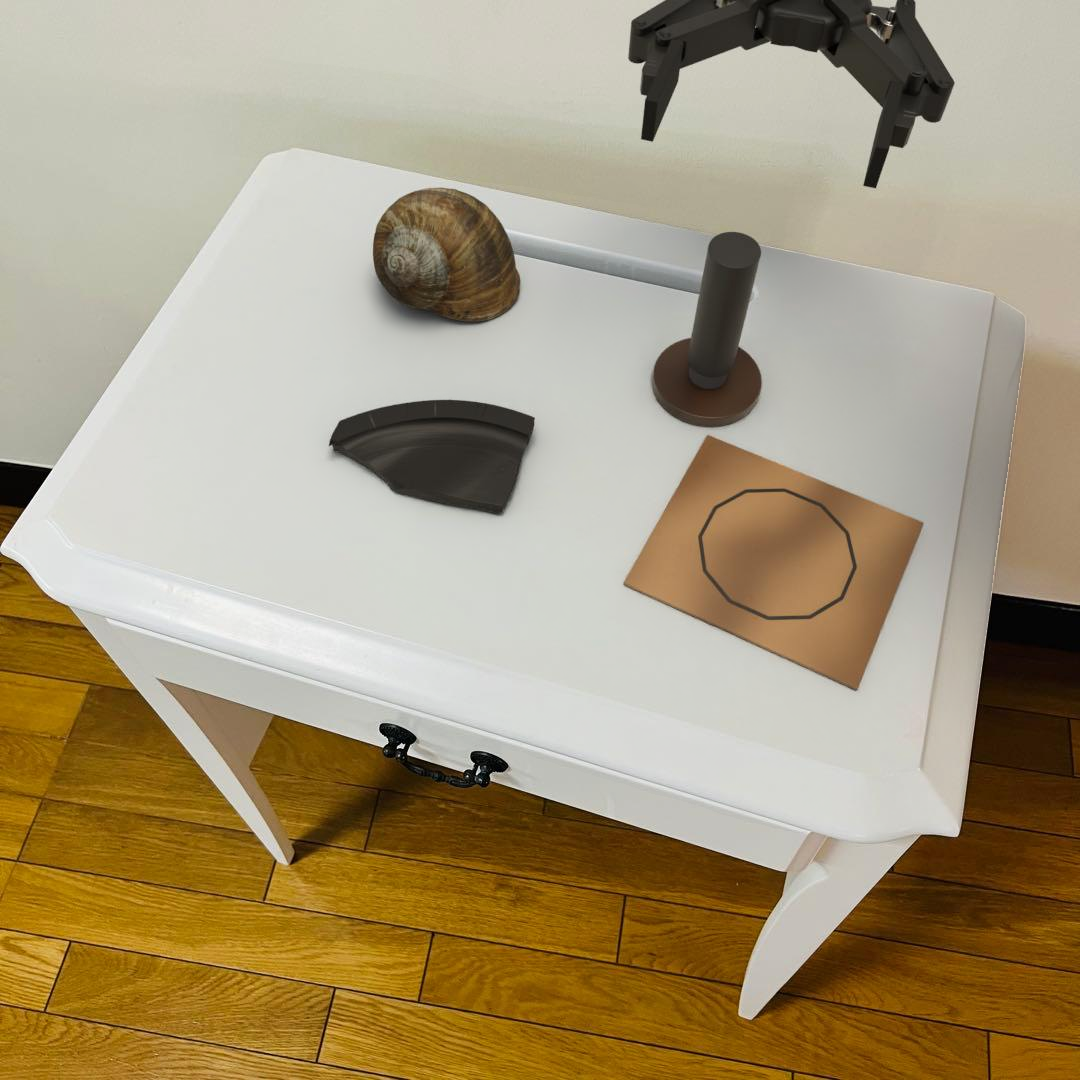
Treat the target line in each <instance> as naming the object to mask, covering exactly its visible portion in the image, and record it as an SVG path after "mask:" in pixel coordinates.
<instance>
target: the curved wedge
mask: <svg viewBox="0 0 1080 1080" xmlns="http://www.w3.org/2000/svg"><path fill="white" fill-rule="evenodd" d="M535 421H536V417H534V416H532V415H530V414H527V413H523V412H521V411H519V410H514V409H512V408H508V407H504V406H502V405H501V406H500V405H497V404H491V403H486V402H480V401H473V400H463V399H429V400H417V401H410V402H402V403H396V404H391V405H386V406H381V407H378V408H374V409H369V410H367V411H363V412H360V413H357V414H354V415H352V416H348V417H346V418H344V419H340V420H339V421H338V423H337V425H336V427H335V428H334V431H332V433H331V436H330V439H329V442H328V446H329V447H331V446H332V450H333V451H334V452H337V453H339V454H341V455H343V456H346V457H347V458H350V459H352V460H354V461H355V462H357V463H358V464H360V465H362V466H364V467H366V468H367V469H368V470H370V471H371V472H373V473H374V474H375V475H376V476H377V477H378V478H380V479H381V480H382V481H384V482H385V484H387V485H388V487H389V488H390V490H392V491H393V492H394V493H397V494H401V495H405V496H409V497H413V498H416V499H417V498H418V499H421V500H426V501H431V502H436V503H440V504H446V505H450V506H451V505H452V506H456V507H463V508H469V509H475V510H481V511H485V512H490V513H493V514H503V512H504V511H505V508H506V505H507V503H508V502H509V501H510V499H511V496H512V494H513V492H514V489H515V487H516V485H517V482H518V479H519V474H520V471H521V470H520V469H521V465H522V460H523V457H524V452H525V449H526V447H527V446H528V444H529V443H530V439H531V437H532V434H533V431H535V430H534V429H535Z"/></svg>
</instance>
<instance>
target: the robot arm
mask: <svg viewBox="0 0 1080 1080" xmlns="http://www.w3.org/2000/svg"><path fill="white" fill-rule="evenodd" d="M916 5H917V3H916V0H896V2H895V5H894V6H889V7H887V6H878V5H873V2H872V0H663V1H662V2H660V3H658V4H656V5H655V6H652V7H651V8H650V9H648V10H646V11H645V12H643V13H641V14H640V15H638V16H636V17H634V18H633V19H632V20H631V22H630V33H629V43H628V44H629V45H628V56H627V59H628V62H630V63H632V64H636V65H638V64H643V63H644V64H643V66H642V68H641V76H640V86H639V92H640V95H641V96H645V99H644V104H643V105H644V106H643V116H642V125H641V134H640V135H641V136H640V140H641V141H642V140H643V141H648V142H652V143H654V140H655V137H656V135H657V133H658V130H659V128H660V127H661V123H662V121H663V119H664V116H665V114H666V112H667V109H668V107H669V105H670V102H671V99H672V97H673V95H674V92H675V90H676V87H677V86H678V83H679V77H680V71H681V69H684V68H687V67H690V66H693V65H694V64H698V63H700V62H702V61H705V60H708V59H710V58H714V57H716V56H718V55H722V54H724V53H728V52H729V51H732V50H734V49H738V48H742V49H743V50H745V51H749V50H752V49H755V48H757V47H759V46H762V45H764V44H767V43H770V45H774V46H780V47H795V48H798V49H800V50H803V51H804V52H805V51H806V52H811V53H816V54H817V53H818V51H819V52H820V53H821V54H822V55H823V56H824V57H825V58H826V59H827V60H828V61H829V62H830V63H831V64H832V65H833V67H834V68H836V69H839V68H844V69H845V70H846V71H847V72H848V73H849V74H850V76H852V77H853V78H854V79H855V81H856V82H858V84H859V85H860V86H861V87H862V88H863V89H864V90H865V91H866V92H867V93H868V94H869V95H870V97H872V98H873V100H874V101H875V102H876V103H877V104H878V105H879V106H880V107H881V108H882V109H881V112H880V115H879V118H878V122H877V125H876V130H875V135H874V138H873V143H872V147H871V151H870V155H869V158H868V159H869V160H868V164H867V167H866V172H865V176H864V180H863V185H862V186H863V187H867V188H871V189H877V186H878V183H879V180H880V177H881V175H882V172H883V169H884V165H885V162H886V160H887V157H888V155H889V151H890V147H895V148H899V149H904V148H905V146H907V145H908V143H909V140H910V137H911V134H912V131H913V129H914V125H915V122H916V118H917V117H922V119H923V120H924V121H926V122H927V123H933V124H935V123H936V124H937V123H940V122H941V120H942V118H943V115H944V113H945V111H946V108H947V105H948V103H949V100H950V98H951V95H952V93H953V89H954V86H955V83H956V82H955V79H954V78H953V77H952V75H951V74H950V72H949V70H948V69H947V67H946V65H945V63H944V62H943V60H942V59H941V57H940V55H939V53H938V51H937V50H936V49H935V47H934V46H933V44H932V42H931V41H930V39H929V37H928V36H927V34H926V32H925V31H924V29H923V27H922V26H921V24H920V23H919V21H918V19H917V17H916Z"/></svg>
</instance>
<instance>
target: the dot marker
mask: <svg viewBox="0 0 1080 1080" xmlns="http://www.w3.org/2000/svg"><path fill="white" fill-rule="evenodd" d="M761 255H762V248H761V246H760V244H759V242H758V241H757V240H756V239H755V238H753V237H752V236H750V235H748V234H746V233H744V232H738V231H724V232H722V233H719V234H717V235H715V236H714V237H713V238H712V239H711V240H710V241H709V243H708V246H707V251H706V257H705V261H704V267H703V271H702V277H701V283H700V288H699V294H698V299H697V303H696V309H695V313H694V314H695V315H694V320H693V324H692V331H691V336H690V338H691V340H690V346H689V351H688V357H687V360H688V364H689V366H690V368H689V378H690V380H691V381H692V382H693V383H694V384H695V385H696V386H698V387H700V388H704V389H715V388H718V387H720V386H721V385H723V384H724V382H725V381H726V378H727V374H728V373H729V372H730V371H731V370H732V368H733V366H734V362H735V358H736V354H737V350H738V346H739V345H740V342H741V337H742V334H743V330H744V325H745V322H746V318H747V313H748V308H749V305H750V302H751V297H752V293H753V289H754V284H755V280H756V276H757V273H758V269H759V264H760V260H761ZM739 347H740V346H739Z"/></svg>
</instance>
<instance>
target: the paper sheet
mask: <svg viewBox="0 0 1080 1080" xmlns="http://www.w3.org/2000/svg"><path fill="white" fill-rule="evenodd" d="M923 525H924V521H921V520H918V519H915V518H914V517H911V516H909V515H906V514H904V513H901V512H899V511H896V510H894V509H891V508H889V507H886V506H884V505H882V504H879V503H876V502H874V501H873V500H869V499H867V498H864V497H862V496H860V495H857V494H854V493H852V492H849V491H848V490H845V489H842V488H840V487H838V486H835V485H833V484H830V483H828V482H825V481H822V480H820V479H818V478H815V477H813V476H810V475H807V474H805V473H803V472H801V471H798V470H795V469H793V468H791V467H788V466H786V465H783V464H781V463H778V462H776V461H773V460H771V459H768V458H766V457H763V456H761V455H758V454H756V453H754V452H751V451H749V450H747V449H744V448H742V447H739V446H736V445H734V444H731V443H729V442H726V441H724V440H722V439H719V438H717V437H715V436H712V435H709V434H707V435H706V436H705V438H704V440H703V441H702V443H701V445H700V447H699V449H698V450H697V452H696V454H695V455H694V457H693V458H692V461H691V463H690V464H689V466H688V468H687V469H686V471H685V473H684V475H683V476H682V478H681V480H680V481H679V484H678V485H677V487H676V489H675V491H674V493H673V494H672V496H671V498H670V500H669V501H668V503H667V505H666V507H665V509H664V510H663V512H662V514H661V516H660V517H659V519H658V521H657V522H656V524H655V527H654V528H653V529H652V532H651V533H650V535H649V537H648V539H647V541H646V542H645V544H644V546H643V547H642V549H641V551H640V553H639V555H637V556H638V557H637V558H636V559H635V562H634V563H633V565H632V567H631V569H630V571H629V572H628V574H627V576H626V577H625V580H624V581H623V586H625V587H628V588H630V589H632V590H634V591H636V592H639V593H641V594H643V595H645V596H647V597H650V598H652V599H654V600H656V601H658V602H661V603H663V604H665V605H667V606H669V607H672V608H674V609H677V610H678V611H681V612H682V613H685V614H687V615H689V616H692V617H694V618H696V619H698V620H700V621H703V622H704V623H707V624H709V625H711V626H713V627H716V628H718V629H720V630H723V631H724V632H726V633H728V634H731V635H734V636H736V637H738V638H740V639H742V640H744V641H747V642H749V643H751V644H752V645H755V646H757V647H760V648H762V649H764V650H766V651H769V652H770V653H773V654H775V655H777V656H779V657H782V658H783V659H786V660H787V661H791V662H793V663H795V664H797V665H799V666H802V667H804V668H806V669H808V670H810V671H812V672H815V673H817V674H819V675H822V676H824V677H826V678H828V679H830V680H832V681H835V682H837V683H839V684H841V685H843V686H846V687H848V688H850V689H852V690H855V691H857V690H858V689H859V687H860V684H861V681H862V679H863V677H864V674H865V671H866V669H867V666H868V664H869V662H870V659H871V657H872V655H873V651H874V648H875V647H876V644H877V641H878V639H879V637H880V634H881V631H882V630H883V626H884V624H885V621H886V619H887V617H888V614H889V612H890V609H891V606H892V603H893V602H894V599H895V597H896V594H897V591H898V589H899V586H900V583H901V581H902V579H903V576H904V573H905V571H906V568H907V566H908V563H909V561H910V558H911V556H912V553H913V551H914V548H915V546H916V544H917V541H918V538H919V535H920V533H921V531H922V528H923Z"/></svg>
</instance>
